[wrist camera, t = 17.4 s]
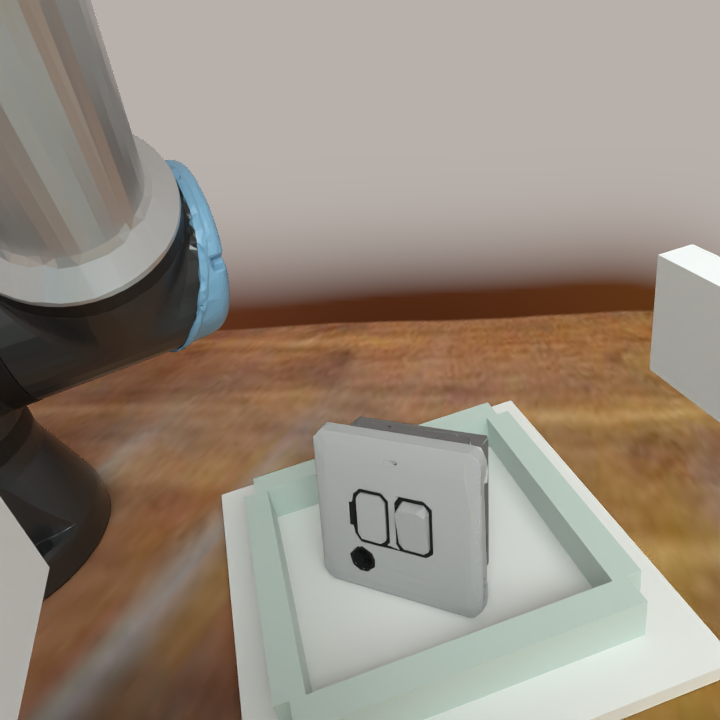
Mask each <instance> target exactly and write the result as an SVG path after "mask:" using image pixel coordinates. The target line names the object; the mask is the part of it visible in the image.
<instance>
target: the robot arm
mask: <svg viewBox="0 0 720 720" xmlns="http://www.w3.org/2000/svg"><path fill="white" fill-rule="evenodd" d="M221 253H222V247H221V242H220V238H219V235H218V232H217V228H216V225H215V222H214V219H213V216H212V214H211V211H210V208H209V206H208V203H207V201H206V199H205V197H204V195H203V192H202V190H201V189H200V187H199V185H198V183H197V181H196V179H195V178H194V176H193V175H192V173H191V172H190V170H189V169H188V168H187V167H186V166H184V165H183V164H182V163H180V162H178V161H175V160H165V161H164V159H163V158H162V157H161V156H160V155H159V153H158V152H157V151H156V150H155V149H154V148H152V147H151V146H150V145H149V144H147V143H146V142H145V141H144V140H142V139H140V138H138V137H137V136H135V135H133V134H132V132H131V129H130V126H129V122H128V119H127V116H126V113H125V110H124V106H123V103H122V100H121V97H120V93H119V90H118V87H117V84H116V80H115V77H114V74H113V71H112V68H111V64H110V61H109V58H108V55H107V52H106V48H105V45H104V42H103V39H102V35H101V32H100V29H99V26H98V23H97V19H96V16H95V13H94V10H93V6H92V3H91V0H0V720H17V719H18V715H19V710H20V705H21V701H22V696H23V691H24V686H25V682H26V677H27V672H28V667H29V663H30V658H31V653H32V649H33V644H34V639H35V634H36V630H37V625H38V620H39V615H40V611H41V606H42V601H43V600H44V599H45V598H46V597H48V596H49V595H50V594H52V593H53V592H54V591H55V590H56V589H58V588H59V587H60V586H61V585H62V584H63V583H65V582H66V581H67V580H68V579H69V578H70V577H71V576H72V575H73V574H74V573H75V572H76V571H77V570H78V569H79V568H80V566H81V565H82V564H83V563H84V562H85V561H86V559H87V558H88V557H89V556H90V554H91V553H92V551H93V550H94V549H95V547H96V546H97V544H98V542H99V541H100V539H101V537H102V535H103V533H104V531H105V528H106V526H107V523H108V519H109V515H110V499H109V495H108V493H107V491H106V489H105V487H104V485H103V484H102V482H101V480H100V478H99V476H98V475H97V473H96V471H95V470H94V469H93V468H92V467H91V465H90V464H89V463H87V462H86V461H85V460H84V459H82V458H81V457H80V456H79V455H77V454H76V453H75V452H74V451H72V450H71V449H70V448H69V447H67V446H66V445H65V444H64V443H62V442H61V441H60V440H59V439H57V438H56V437H55V436H54V435H52V434H51V433H50V432H48V431H47V430H46V429H45V428H43V427H42V426H41V425H40V424H39V423H38V422H37V421H36V420H35V419H34V417H33V416H32V414H31V412H30V410H29V409H28V407H27V405H29V404H31V403H34V402H37V401H40V400H42V399H43V398H46V397H49V396H51V395H54V394H57V393H59V392H62V391H65V390H67V389H70V388H73V387H76V386H78V385H81V384H84V383H86V382H89V381H92V380H94V379H97V378H100V377H102V376H105V375H108V374H110V373H113V372H116V371H118V370H121V369H124V368H126V367H129V366H132V365H134V364H137V363H140V362H142V361H145V360H148V359H150V358H153V357H156V356H158V355H161V354H164V353H166V352H176V351H180V350H183V349H185V348H186V347H187V346H189V345H190V344H191V343H192V342H194V341H196V340H198V339H201V338H203V337H205V336H208V335H210V334H212V333H214V332H215V331H217V330H218V329H219V328H220V327H221V326H222V324H223V323H224V322H225V319H226V317H227V314H228V310H229V303H230V292H229V280H228V274H227V269H226V265H225V263H224V261H223V260H222V258H221ZM650 370H651V371H653V372H654V373H655V374H657V375H658V376H659V377H661V378H662V379H663V380H665V381H666V382H667V383H668V384H670V385H671V386H672V387H674V388H675V389H676V390H678V391H679V392H680V393H682V394H683V395H684V396H686V397H687V398H688V399H689V400H691V401H692V402H693V403H695V404H696V405H697V406H699V407H700V408H701V409H703V410H704V411H705V412H707V413H708V414H709V415H710V416H712V417H713V418H714V419H716V420H717V421H718V422H720V257H719V256H717V255H715V254H712V253H710V252H708V251H706V250H704V249H702V248H699V247H697V246H695V245H693V244H692V245H688V246H685V247H682V248H679V249H675V250H672V251H669V252H665V253H662V254H659V255H658V264H657V278H656V290H655V304H654V317H653V330H652V344H651V357H650Z"/></svg>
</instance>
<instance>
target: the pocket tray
mask: <svg viewBox="0 0 720 720" xmlns="http://www.w3.org/2000/svg"><path fill="white" fill-rule="evenodd" d="M419 426H426V427H433V428H439V429H446V430H453V431H459V432H466V433H473V434H480V435H486V436H487V439H488V489H489V563H488V565H487V582H488V600H487V604H486V606H485V608H484V609H483V611H482V612H481V613H480V614H479V615H477V616H476V617H475V618H469V617H466V616H462V615H459V614H455V613H452V612H449V611H445V610H442V609H438V608H435V607H432V606H428V605H425V604H422V603H418V602H415V601H411V600H408V599H405V598H401V597H398V596H394V595H391V594H388V593H384V592H381V591H377V590H374V589H371V588H367V587H364V586H361V585H357V584H354V583H350V582H347V581H344V580H340V579H337V578H335V577H333V576H332V575H331V574H330V573H329V571H328V570H327V569H326V567H325V562H324V551H323V541H322V530H321V519H320V508H319V497H318V487H317V476H316V465H315V459H312V460H309V461H306V462H303V463H300V464H297V465H294V466H291V467H288V468H284V469H281V470H278V471H275V472H272V473H269V474H266V475H263V476H260V477H257V478H254V479H253V481H254V484H253V485H250V486H247V487H244V488H241V489H238V490H235V491H232V492H229V493H226V494H223V495H222V506H223V517H224V528H225V539H226V550H227V561H228V572H229V583H230V594H231V605H232V616H233V626H234V637H235V648H236V659H237V670H238V681H239V692H240V703H241V714H242V720H621V719H623V718H626V717H628V716H631V715H633V714H636V713H638V712H641V711H643V710H646V709H648V708H651V707H653V706H656V705H658V704H661V703H663V702H666V701H668V700H671V699H673V698H676V697H678V696H681V695H683V694H686V693H688V692H691V691H693V690H696V689H698V688H701V687H703V686H706V685H708V684H711V683H713V682H716V681H718V680H720V641H719V640H718V639H717V637H716V636H715V635H714V634H713V633H712V632H711V630H710V629H709V628H708V627H707V626H706V625H705V624H704V622H703V621H702V620H701V619H700V618H699V617H698V615H697V614H696V613H695V612H694V611H693V610H692V609H691V607H690V606H689V605H688V604H687V603H686V602H685V601H684V599H683V598H682V597H681V596H680V595H679V594H678V592H677V591H676V590H675V589H674V588H673V587H672V586H671V584H670V583H669V582H668V581H667V580H666V579H665V577H664V576H663V575H662V574H661V573H660V572H659V571H658V569H657V568H656V567H655V566H654V565H653V564H652V563H651V561H650V560H649V559H648V558H647V557H646V556H645V554H644V553H643V552H642V551H641V550H640V549H639V548H638V546H637V545H636V544H635V543H634V542H633V541H632V539H631V538H630V537H629V536H628V535H627V534H626V533H625V531H624V530H623V529H622V528H621V527H620V526H619V525H618V523H617V522H616V521H615V520H614V519H613V518H612V516H611V515H610V514H609V513H608V512H607V511H606V510H605V508H604V507H603V506H602V505H601V504H600V503H599V501H598V500H597V499H596V498H595V497H594V496H593V495H592V493H591V492H590V491H589V490H588V489H587V488H586V487H585V485H584V484H583V483H582V482H581V481H580V480H579V478H578V477H577V476H576V475H575V474H574V473H573V472H572V470H571V469H570V468H569V467H568V466H567V465H566V463H565V462H564V461H563V460H562V459H561V458H560V457H559V455H558V454H557V453H556V452H555V451H554V450H553V448H552V447H551V446H550V445H549V444H548V443H547V442H546V440H545V439H544V438H543V437H542V436H541V435H540V434H539V432H538V431H537V430H536V429H535V428H534V427H533V425H532V424H531V423H530V422H529V421H528V420H527V419H526V417H525V416H524V415H523V414H522V413H521V412H520V410H519V409H518V408H517V407H516V406H515V405H514V404H513V402H512V401H508V402H505V403H502V404H499V405H495V406H492V407H491V406H490V405H489V403H484V404H481V405H478V406H475V407H472V408H469V409H466V410H463V411H460V412H457V413H454V414H451V415H448V416H444V417H441V418H438V419H435V420H432V421H429V422H426V423H423V424H420V425H419ZM457 436H458V435H457ZM433 439H434V438H433ZM487 439H486V440H487ZM486 440H485V441H486ZM485 441H484V442H485ZM470 445H471V442H470Z"/></svg>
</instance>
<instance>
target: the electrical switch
mask: <svg viewBox="0 0 720 720" xmlns="http://www.w3.org/2000/svg"><path fill="white" fill-rule="evenodd" d="M457 435H458V436H457ZM433 438H434V439H433ZM486 439H487V436H486V435H480V434H473V433H466V432H459V431H453V430H446V429H439V428H433V427H426V426H419V425H413V424H406V423H399V422H393V421H386V420H379V419H372V418H366V417H359V418H358V419H356V420H355V421H354V422H353V423H352V424H351V425H343V424H336V423H330V422H327V423H325V424H324V425H323V426H322V427H321V428H320V429H319V431H318V432H317V433H316V434H315V435H314V436H313V443H314V454H315V465H316V476H317V487H318V497H319V508H320V519H321V530H322V541H323V551H324V562H325V567H326V569H327V570H328V571H329V573H330V574H331V575H332V576H333V577H335V578H337V579H340V580H344V581H347V582H350V583H354V584H357V585H361V586H364V587H367V588H371V589H374V590H377V591H381V592H384V593H388V594H391V595H394V596H398V597H401V598H405V599H408V600H411V601H415V602H418V603H422V604H425V605H428V606H432V607H435V608H438V609H442V610H445V611H449V612H452V613H455V614H459V615H462V616H466V617H469V618H475V617H476V616H477V615H479V614H480V613H481V612H482V611H483V609H484V608H485V606H486V604H487V600H488V582H487V565H488V563H489V489H488V439H487V440H486ZM485 440H486V441H485ZM484 441H485V442H484ZM470 442H471V445H470Z"/></svg>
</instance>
